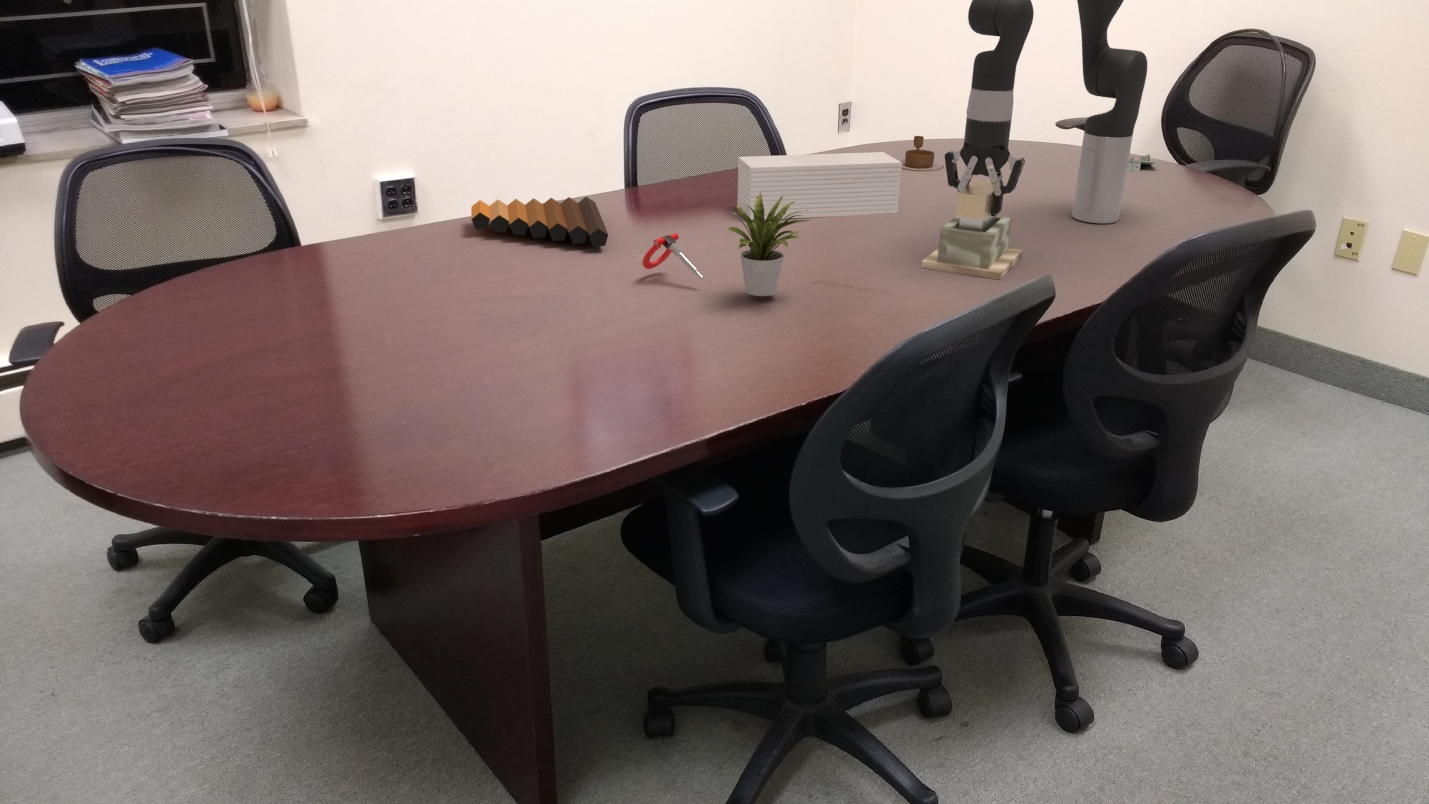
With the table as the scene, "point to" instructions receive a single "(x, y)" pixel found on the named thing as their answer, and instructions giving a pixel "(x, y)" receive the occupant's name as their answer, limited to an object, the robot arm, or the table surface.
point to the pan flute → (544, 219)
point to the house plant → (763, 247)
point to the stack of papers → (821, 184)
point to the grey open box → (974, 250)
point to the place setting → (919, 156)
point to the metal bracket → (1139, 163)
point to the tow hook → (668, 253)
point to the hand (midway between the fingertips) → (978, 212)
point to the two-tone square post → (976, 206)
